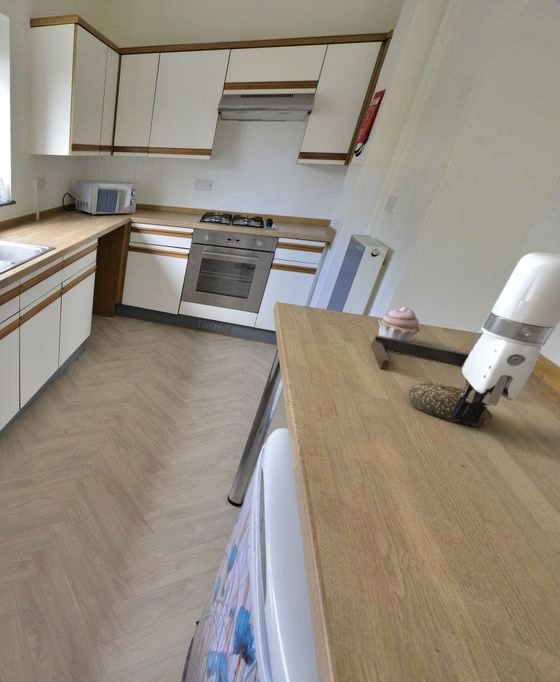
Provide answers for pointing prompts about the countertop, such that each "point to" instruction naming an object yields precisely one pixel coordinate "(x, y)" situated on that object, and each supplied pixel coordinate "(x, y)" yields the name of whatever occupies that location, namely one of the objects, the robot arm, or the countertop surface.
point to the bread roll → (441, 402)
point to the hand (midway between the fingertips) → (462, 419)
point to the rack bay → (414, 351)
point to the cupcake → (399, 324)
